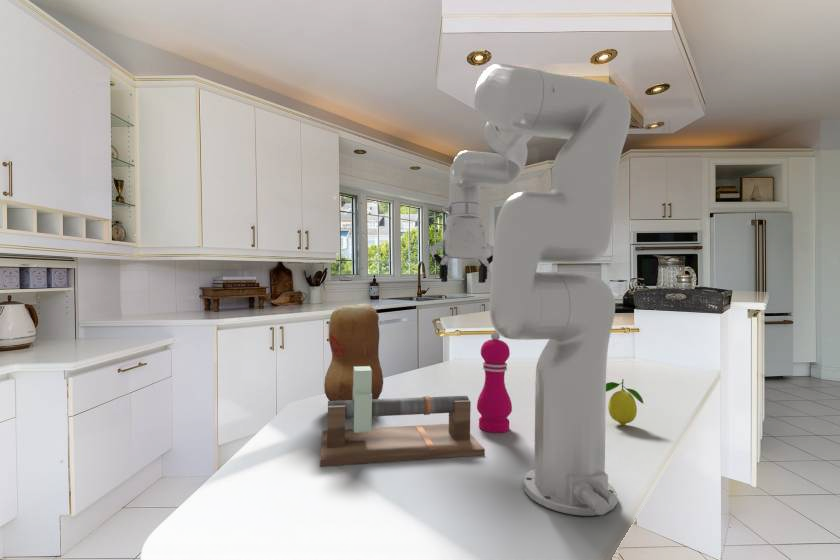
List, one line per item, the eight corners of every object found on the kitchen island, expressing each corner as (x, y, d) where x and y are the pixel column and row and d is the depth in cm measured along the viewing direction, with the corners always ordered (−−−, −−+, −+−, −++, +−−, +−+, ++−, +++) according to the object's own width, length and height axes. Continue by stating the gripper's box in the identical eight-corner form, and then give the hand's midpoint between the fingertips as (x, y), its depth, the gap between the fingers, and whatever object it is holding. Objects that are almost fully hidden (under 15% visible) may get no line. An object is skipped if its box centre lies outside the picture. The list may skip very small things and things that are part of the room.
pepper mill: (511, 435, 83) (513, 334, 83) (475, 432, 84) (476, 333, 85) (511, 423, 90) (512, 330, 90) (477, 421, 92) (479, 329, 92)
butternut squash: (313, 409, 98) (316, 302, 98) (361, 399, 107) (363, 302, 107) (345, 424, 88) (347, 305, 88) (395, 412, 96) (397, 304, 97)
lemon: (598, 422, 92) (599, 377, 92) (616, 419, 95) (617, 375, 95) (626, 432, 86) (626, 383, 86) (644, 428, 89) (645, 381, 89)
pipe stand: (484, 454, 73) (485, 405, 73) (320, 466, 67) (321, 412, 67) (460, 427, 87) (461, 386, 87) (322, 435, 81) (323, 390, 81)
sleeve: (371, 431, 73) (372, 371, 73) (353, 432, 72) (355, 372, 72) (368, 420, 79) (369, 365, 79) (352, 420, 79) (353, 365, 79)
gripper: (433, 208, 98) (432, 281, 97) (503, 211, 101) (502, 282, 101) (426, 213, 105) (425, 281, 105) (492, 216, 108) (491, 283, 108)
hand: (463, 282), depth 103 cm, fingers open, 9 cm apart
